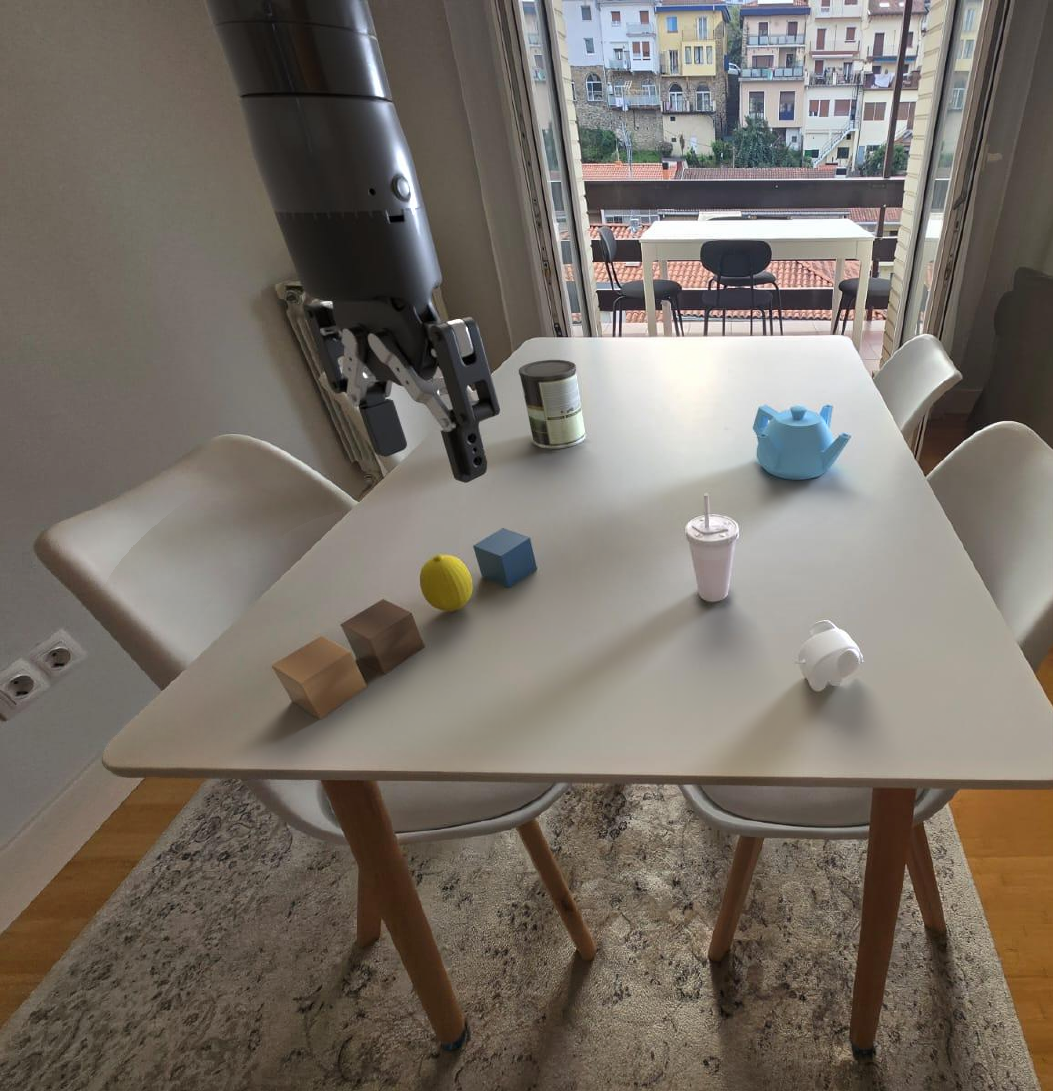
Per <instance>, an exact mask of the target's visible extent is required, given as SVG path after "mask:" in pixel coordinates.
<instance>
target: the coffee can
mask: <svg viewBox="0 0 1053 1091" xmlns="http://www.w3.org/2000/svg"><path fill="white" fill-rule="evenodd" d="M518 375H519V377H520V382H521V386H522V392H523V397H524V403H525V406H526V411H527V417H528V422H529V426H530V431H531V436H532V443H533V444H534V445H535V446H536V447H538V448H541V449H548V450H558V449H566V448H570V447H574V446H577V445H579V444H581V443H582V442H583V441H584V440H585V439H586V437H587V435H586V430H585V423H584V416H583V409H582V403H581V397H580V390H579V385H578V384H579V383H578V377H577V365H576V363H574V362H573V361H570V360H566V359H565V360H564V359H544V360H538V361H533V362H529V363H527V364H524V365H522V366H521V367H519V368H518Z"/></svg>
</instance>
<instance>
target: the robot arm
mask: <svg viewBox="0 0 1053 1091" xmlns="http://www.w3.org/2000/svg"><path fill="white" fill-rule="evenodd" d="M202 1H203V3H204V6H205V10H206V12H207V15H208V19H209V22H210V25H211V27H212V30H213V33H214V36H215V38H216V42H217V44H218V47H219V49H220V50H219V51H220V52H221V56H222V58H223V61H224V63H225V66H226V69H227V70H228V71H227V72H228V74H229V77H230V79H231V80H230V81H231V82H232V85H233V88H234V91H235V93H236V96H237V97H238V98H239V100H238V101H239V105H240V108H241V111H242V114H243V115H242V116H243V118H244V124H245V127H246V130H247V136H248V140H249V145H250V148H251V153H252V155H253V158H254V161H255V165H256V166H257V170H258V172H259V175H260V177H261V178H260V179H261V180H262V183H263V186H264V188H265V192H266V193H267V196H268V199H269V201H270V205H271V207H272V210H273V212H274V213H273V214H274V216H275V218H276V221H277V224H278V226H279V229H280V232H281V234H282V237H283V239H284V240H283V241H284V243H285V245H286V248H287V250H288V254H289V256H290V259H291V261H292V264H293V267H294V269H295V273H296V274H297V278H298V280H299V283H300V286H301V288H302V290H303V292H304V293H305V294H306V295H308V296H309V297H310V298H313V299H315V300H318V301H316V302H309V303H305V304H303V305H302V310H303V313H304V316H305V317H304V318H305V320H306V322H307V325H308V328H309V331H310V333H311V337H312V339H313V343H314V346H315V348H316V351H317V354H318V358H319V360H320V363H321V365H322V366H321V367H322V369H323V372H324V375H325V376H326V380H327V383H328V387H329V388H330V389H331V391H333V393H335V394H337V395H338V394H339V395H340V394H342V393H344V394H346V397H347V400H348V401H349V402H350V404H351V406H353V407H355V408H358V411H359V414H360V416H361V419H362V422H363V425H364V428H365V430H366V433H367V435H368V436H367V437H368V438H369V441H370V445H371V447H372V449H373V452H374V453H375V455H378V456H381V457H384V458H387V457H390V456H392V455H395V454H398V453H401V452H402V451H404V450H406V449H407V447H408V441H407V438H406V435H405V433H404V429H403V426H402V423H401V420H400V417H399V414H398V410H397V407H396V404H395V402H394V399H390V398H389V397H391V393H392V389H393V383H394V384H396V385H397V386H399V387H403V388H404V389H405V390H406V392H407V394H408V395H409V397H410V398H411V399H412V400H413V401H414V402H415V403H418V404H423V405H425V407H427V410H428V411H429V412H430V413H431V415H432V416H433V417H434V419H435V421H437V423H438V424H439V426H440V427H441V428H442V430H441V429H440V434H441V437H442V442H443V444H444V449H445V451H446V456H447V458H448V461H449V465H450V466H449V467H450V468H451V474H452V476H453V478H454V480H456V481H459V482H461V483H464V484H466V483H470V482H472V481H474V480H475V479H478V478H480V477H482V476H484V475H485V474H486V473H487V470H488V459H487V455H486V451H485V449H484V448H485V447H484V442H483V440H482V436H481V435H482V434H481V431H480V422H483V421H485V420H487V419H490V418H493V417H496V416H498V415H499V414H500V412H501V407H500V404H499V399H498V396H497V392H496V388H495V384H494V381H493V377H492V373H491V370H490V367H489V362H488V358H487V355H486V351H485V347H484V344H483V340H482V336H481V332H480V328H479V325H478V323H477V322H476V321H475V319H474V318H473V317H471V316H467V317H463V318H455V319H452V320H442V319H441V317H440V316H439V314H438V313H437V311H436V308H435V306H434V303H433V300H432V294H433V292H434V290H436V289H438V288H439V287H440V286H441V284H442V283H443V282H442V281H443V274H442V272H441V267H440V262H439V259H438V255H437V252H436V247H435V243H434V238H433V235H432V231H431V227H430V223H429V218H428V214H427V211H426V207H425V204H424V200H423V199H424V198H423V194H422V191H421V188H420V182H419V179H418V175H417V171H416V167H415V163H414V159H413V156H412V152H411V149H410V146H409V143H408V141H407V137H406V135H405V133H404V130H403V128H402V124H401V121H400V119H399V117H398V113H397V109H396V107H395V104H394V103H393V100H394V99H393V95H392V92H391V87H390V84H389V79H388V76H387V72H386V68H385V65H384V61H383V56H382V52H381V48H380V44H379V40H378V34H377V31H376V27H375V23H374V19H373V16H372V12H371V9H370V5H369V1H368V0H202ZM340 358H343V360H342V368H340V365H339V359H340ZM341 369H342V370H341ZM438 369H439V370H440V372H441V375H442V376H439V377H435V375H436V373H437V370H438ZM434 377H435V378H434ZM472 384H474V388H475V391H476V395H477V400H476V399H475V398H474V396H473V395H472V393H471V392H470V391H469V390H468V387H469V385H472ZM444 395H448V398H449V401H450V404H451V407H452V408H450V407H449V406H448V405H447V403H446V401H445V400H444V399H443V398H442V396H444Z"/></svg>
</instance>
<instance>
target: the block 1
mask: <svg viewBox="0 0 1053 1091" xmlns="http://www.w3.org/2000/svg"><path fill="white" fill-rule="evenodd" d="M270 666H271V669H272V670H273V671H274V673H275V675H276V677H277V678H278V680H279V682H280V683H281V685H282V687H283V688H284V690H285V692H286V693H287V696H288V698H289V699H290V700H291V702H293V703H294V704H296V705H297V706H299V707H300V708H302V709H303V710H305V711H306V712H308V713H310V714H311V715H313V717H315V718H317V719H318V720H322V719H323V718H325V717H326V716H327V715H329V714H330V713H332V712H333V711H335V710H336V709H337V708H339V707H341V706H342V705H343V704H344V703H346V702H348V701H349V700H350V699H352V698H353V697H354V696H356V695H357V694H359V693H360V692H362V691H364V689H367V687H368V686H367V684H366V681H365V679H364V677H363V676H362V673H361V671H360V669H359V667H358V665H357V663H356V661H355V658H354V656H353V654H352V652H351V651H350V650H349V649H346V648H345V647H342V645H340V644H337V643H336V642H334V641H332V640H330V639H328V638H327V637H324V636H323V635H320V636H318V637H316V638H315V639H313V640H312V641H310V642H308V643H307V644H305V645H303V646H301V647H300V648H298V649H296V650H294V651H293V652H291V653H289V654H288V655H286V656H284V657H283V658H281V659H279V660H278V661H276V662H275V663H273V664H271V665H270Z"/></svg>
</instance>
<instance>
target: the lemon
mask: <svg viewBox="0 0 1053 1091" xmlns="http://www.w3.org/2000/svg"><path fill="white" fill-rule="evenodd" d="M419 586H420V589H421V590H420V591H421V594H422V596H423V597H424V599H425V601H426V602H427V603H428V604H429V605H430V606H431V607H433V608H434V609H436V610H439V611H443V612H451V611H452V612H456V611H458V610H459V609H460V608H462V607H464V606H465V605H466V604H467V603H468V601H469V600H470V599H471V597H472V593H473V589H474V586H473V579H472V575H471V573H470V571H469V569H468V568H467V566H466V565H465V564H464V561H462V560H461V559H459V558H458V557H456V556H453V555H450V554H436V555H434V556H433V557H431V558H429V559H428V560H427V561H426V562H424V564H423V566H422V568H421V569H420V573H419Z"/></svg>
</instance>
